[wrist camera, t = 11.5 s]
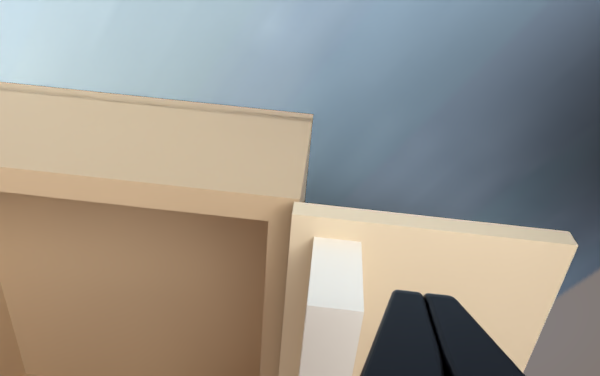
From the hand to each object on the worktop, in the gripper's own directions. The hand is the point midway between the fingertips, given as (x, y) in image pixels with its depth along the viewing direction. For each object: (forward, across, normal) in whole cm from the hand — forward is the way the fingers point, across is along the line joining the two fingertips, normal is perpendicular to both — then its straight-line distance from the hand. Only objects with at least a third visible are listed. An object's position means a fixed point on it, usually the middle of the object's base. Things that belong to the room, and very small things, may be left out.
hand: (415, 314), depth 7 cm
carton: (+12, +9, +10) cm, 18 cm away
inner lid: (+6, -1, +10) cm, 12 cm away
